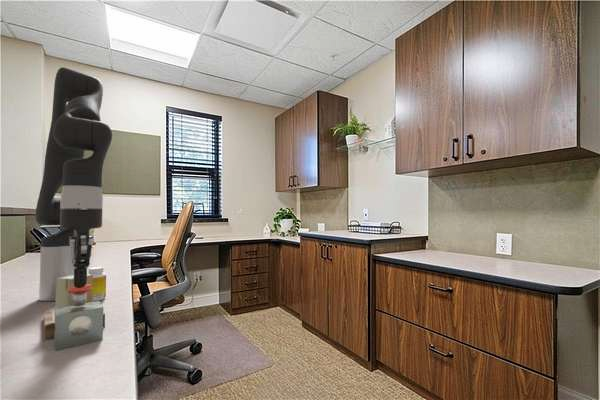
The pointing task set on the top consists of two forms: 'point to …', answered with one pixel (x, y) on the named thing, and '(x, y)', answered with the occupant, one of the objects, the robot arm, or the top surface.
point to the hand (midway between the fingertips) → (80, 285)
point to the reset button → (79, 294)
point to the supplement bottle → (98, 283)
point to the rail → (50, 325)
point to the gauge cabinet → (78, 325)
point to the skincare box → (67, 298)
